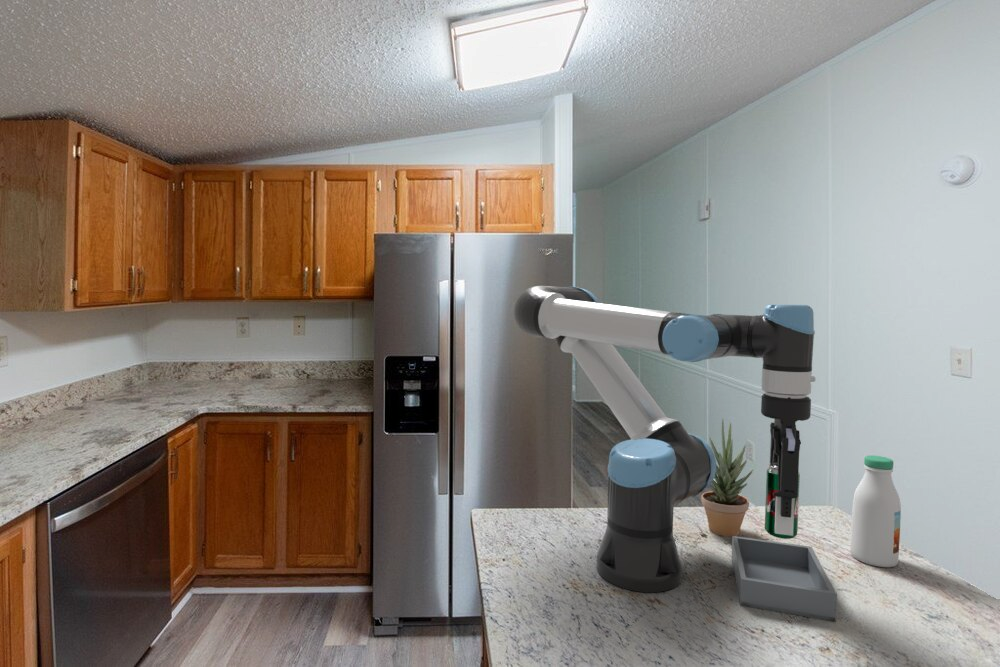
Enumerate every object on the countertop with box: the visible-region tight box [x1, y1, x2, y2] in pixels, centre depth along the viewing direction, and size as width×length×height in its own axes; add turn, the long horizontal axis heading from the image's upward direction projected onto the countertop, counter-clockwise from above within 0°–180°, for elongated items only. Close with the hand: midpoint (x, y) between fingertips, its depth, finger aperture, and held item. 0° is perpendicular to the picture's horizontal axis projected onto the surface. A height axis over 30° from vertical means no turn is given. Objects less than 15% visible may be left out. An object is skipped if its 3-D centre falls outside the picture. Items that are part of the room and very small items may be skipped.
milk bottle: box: [849, 455, 902, 568], centre depth 105 cm, size 8×8×20 cm
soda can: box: [764, 462, 800, 540], centre depth 94 cm, size 5×5×12 cm
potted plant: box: [700, 418, 754, 537], centre depth 118 cm, size 10×10×25 cm
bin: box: [730, 535, 838, 622], centre depth 95 cm, size 14×18×4 cm
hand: (780, 526), depth 94 cm, fingers closed on soda can, 5 cm apart
